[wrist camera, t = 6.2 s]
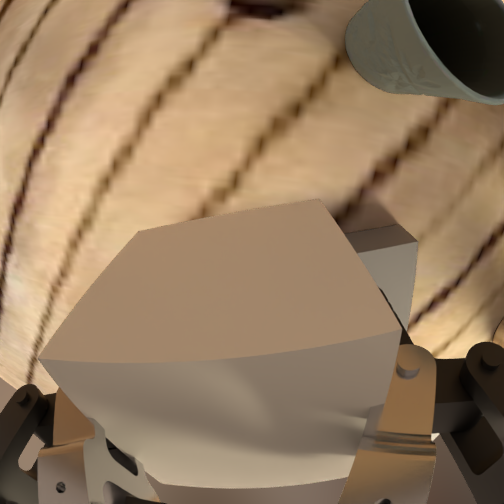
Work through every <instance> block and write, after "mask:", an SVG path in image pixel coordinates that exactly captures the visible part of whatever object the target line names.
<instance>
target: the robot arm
mask: <svg viewBox="0 0 504 504" xmlns="http://www.w3.org/2000/svg"><path fill="white" fill-rule="evenodd" d="M378 288H379V287H378ZM379 290H380V291H381V293H382V295H383V296H384V298H385V300H386V301H387V303H388V305H389V306H390V308H391V310H392V312H393V313H394V315H395V317H396V319H397V320H398V322H399V324H400V326H401V327H402V333H401V338H400V343H399V348H398V353H397V358H396V362H395V366H394V371H393V375H392V379H391V383H390V386H389V390H388V394H387V397H386V401H385V403H384V404H381V405H377V406H373V407H370V410H369V414H368V418H367V421H366V425H365V428H364V432H363V435H362V438H361V441H360V444H359V447H358V450H357V453H356V456H355V459H354V462H353V465H352V468H351V471H350V473H349V476H348V479H347V481H346V484H345V487H344V489H343V492H342V494H341V497H340V499H339V501H338V504H426V503H427V499H428V495H429V491H430V486H431V481H432V476H433V471H434V465H435V460H436V445H435V443H433V442H432V440H431V434H435V433H440V435H441V437H442V439H443V440H444V442H445V444H446V445H447V447H448V449H449V451H450V453H451V454H452V456H453V458H454V460H455V462H456V463H457V465H458V467H459V469H460V471H461V472H462V474H463V476H464V478H465V480H466V482H467V484H468V486H469V488H470V490H471V492H472V494H473V495H474V498H475V500H476V502H477V504H504V319H503V320H502V322H501V323H500V325H499V326H498V328H497V330H496V332H495V334H494V338H493V343H492V342H481V343H478V344H475V345H474V346H473V347H471V349H470V350H469V351H468V353H467V356H466V358H459V359H436V358H434V357H433V356H432V354H431V353H430V352H429V351H427V350H426V349H424V348H422V347H420V346H417V345H414V344H413V342H412V341H411V339H410V337H409V335H408V333H407V332H406V330H405V328H404V326H403V324H402V323H401V321H400V319H399V317H398V316H397V314H396V312H395V311H394V310H393V307H392V305H391V304H390V302H388V299H387V297H386V295H385V294H384V292H383V291H382V289H380V288H379ZM33 433H34V434H35V435H36V436H37V437H38V438H39V439H40V440H41V441H43V442H44V443H45V445H44V447H43V448H41V449H40V451H39V453H38V458H37V460H36V462H35V463H34V465H33V467H32V468H31V469H30V470H29V471H24V470H22V469H21V468H20V467H19V465H18V459H19V457H20V455H21V453H22V451H23V450H24V448H25V446H26V445H27V443H28V441H29V439H30V438H31V436H32V434H33ZM0 504H166V503H161V502H160V500H159V498H158V496H157V494H156V492H155V490H154V489H153V488H152V487H151V485H150V484H149V482H148V480H147V478H146V474H145V471H144V467H143V464H142V463H141V462H140V461H139V460H137V459H136V458H135V457H129V456H126V455H125V454H124V453H123V452H122V451H121V450H119V449H118V448H117V447H116V446H115V445H114V444H113V443H112V442H111V441H110V440H108V439H107V438H106V437H105V429H104V428H103V427H102V426H101V425H100V424H99V423H98V422H97V421H96V420H95V419H94V418H89V417H85V416H84V415H83V413H82V412H81V411H80V410H79V409H78V408H77V407H76V406H75V405H74V404H73V402H72V401H71V400H70V399H69V398H68V397H67V395H66V394H65V393H64V392H63V391H62V390H61V388H60V387H59V388H58V390H57V393H53V394H47V395H43V394H42V393H41V391H40V390H39V389H38V388H37V387H36V386H35V385H33V384H27V385H24V386H22V387H21V388H19V389H18V390H17V391H16V392H15V393H14V395H13V396H12V398H11V399H10V400H9V402H8V403H7V405H6V406H5V408H4V409H3V411H2V412H1V413H0Z"/></svg>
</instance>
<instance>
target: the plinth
mask: <svg viewBox="0 0 504 504" xmlns="http://www.w3.org/2000/svg"><path fill="white" fill-rule="evenodd" d="M344 235H345V236H346V238H347V239H348V241H349V242H350V244H351V245H352V247H353V248H354V250H355V251H356V253H357V255H358V256H359V258H360V259H361V261H362V262H363V264H364V265H365V267H366V269H367V270H368V272H369V273H370V275H371V277H372V278H373V280H374V281H375V283H376V285H377V286H378V287H379V288H380V289H382V291H383V292H384V294H385V295H386V297H387V299H388V302H390V304H391V305H392V307H393V310H394V311H395V312H396V314H397V316H398V317H399V319H400V321H401V323H402V324H403V326H404V328H405V330H406V332H407V327H408V322H409V316H410V310H411V303H412V297H413V289H414V281H415V273H416V263H417V251H418V241H417V240H416V239H415V238H414V237H413V236H412V235H411V234H409V233H408V232H407V231H406V230H405V229H404V228H403V227H402V226H400V225H393V226H387V227H381V228H376V229H370V230H364V231H358V232H353V233H347V234H344Z"/></svg>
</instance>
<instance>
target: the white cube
mask: <svg viewBox="0 0 504 504" xmlns="http://www.w3.org/2000/svg"><path fill="white" fill-rule="evenodd" d="M401 333H402V327H401V326H400V324H399V322H398V320H397V319H396V317H395V315H394V313H393V312H392V310H391V308H390V306H389V305H388V303H387V301H386V300H385V298H384V296H383V295H382V293H381V291H380V290H379V288H378V286H377V285H376V283H375V281H374V280H373V278H372V277H371V275H370V273H369V272H368V270H367V269H366V267H365V265H364V264H363V262H362V261H361V259H360V258H359V256H358V255H357V253H356V251H355V250H354V248H353V247H352V245H351V244H350V242H349V241H348V239H347V238H346V236H345V235H344V233H343V232H342V231H341V229H340V228H339V226H338V225H337V223H336V222H335V220H334V219H333V217H332V216H331V215H330V213H329V212H328V210H327V209H326V208H325V206H324V205H323V203H322V202H321V201H320V199H315V200H308V201H301V202H295V203H288V204H282V205H276V206H269V207H263V208H257V209H251V210H246V211H240V212H234V213H229V214H223V215H217V216H212V217H207V218H201V219H196V220H191V221H186V222H181V223H176V224H171V225H166V226H161V227H156V228H151V229H147V230H142V231H138V232H137V233H136V234H135V236H134V237H133V238H132V239H131V240H130V241H129V242H128V243H127V244H126V245H125V247H124V248H123V249H122V250H121V251H120V252H119V253H118V255H117V256H116V257H115V258H114V259H113V260H112V261H111V263H110V264H109V265H108V266H107V267H106V268H105V270H104V271H103V272H102V273H101V274H100V276H99V277H98V278H97V279H96V280H95V282H94V283H93V284H92V285H91V287H90V288H89V289H88V290H87V291H86V293H85V294H84V295H83V297H82V298H81V299H80V300H79V302H78V303H77V304H76V305H75V307H74V308H73V309H72V311H71V312H70V313H69V315H68V316H67V317H66V319H65V320H64V321H63V323H62V324H61V325H60V327H59V328H58V329H57V331H56V332H55V334H54V335H53V336H52V338H51V339H50V341H49V342H48V344H47V345H46V346H45V348H44V349H43V351H42V352H41V354H40V355H39V357H38V360H39V361H40V363H41V364H42V365H43V367H44V368H45V369H46V371H47V372H48V373H49V375H50V376H51V377H52V378H53V380H54V381H55V382H56V383H57V385H58V386H59V387H60V388H61V390H62V391H63V392H64V393H65V394H66V395H67V397H68V398H69V399H70V400H71V401H72V402H73V404H74V405H75V406H76V407H77V408H78V409H79V410H80V411H81V412H82V413H83V415H84V416H85V417H89V418H94V419H95V420H96V421H97V422H98V423H99V424H100V425H101V426H102V427H103V428H104V429H105V437H106V438H107V439H108V440H110V441H111V442H112V443H113V444H114V445H115V446H116V447H117V448H118V449H119V450H121V451H122V452H123V453H124V454H125V455H126V456H129V457H135V458H136V459H137V460H139V461H140V462H141V463H142V464H143V467H144V470H145V471H146V472H147V473H149V474H150V475H151V476H153V477H154V478H155V479H157V480H158V481H159V482H161V483H163V484H171V485H180V486H191V487H205V488H265V487H281V486H291V485H300V484H307V483H315V482H321V481H328V480H333V479H339V478H344V477H348V476H349V473H350V471H351V468H352V465H353V462H354V459H355V456H356V453H357V450H358V447H359V444H360V441H361V438H362V435H363V432H364V428H365V425H366V421H367V418H368V414H369V410H370V407H373V406H377V405H381V404H384V403H385V401H386V397H387V394H388V390H389V386H390V383H391V379H392V375H393V371H394V366H395V362H396V358H397V353H398V348H399V343H400V338H401Z"/></svg>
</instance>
